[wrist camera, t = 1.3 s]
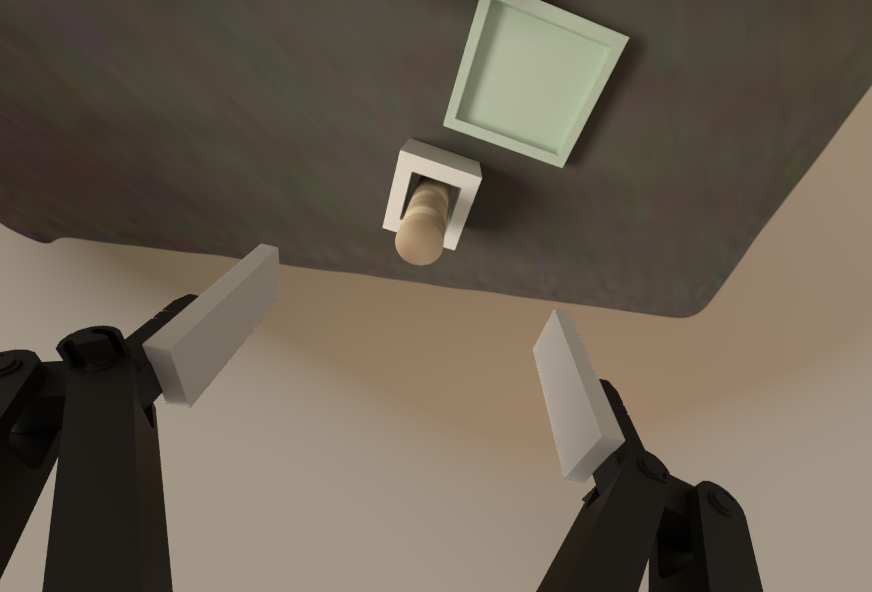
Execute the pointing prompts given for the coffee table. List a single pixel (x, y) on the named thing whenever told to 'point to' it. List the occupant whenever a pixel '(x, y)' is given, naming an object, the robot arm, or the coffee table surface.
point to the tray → (531, 77)
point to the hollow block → (441, 167)
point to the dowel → (424, 223)
